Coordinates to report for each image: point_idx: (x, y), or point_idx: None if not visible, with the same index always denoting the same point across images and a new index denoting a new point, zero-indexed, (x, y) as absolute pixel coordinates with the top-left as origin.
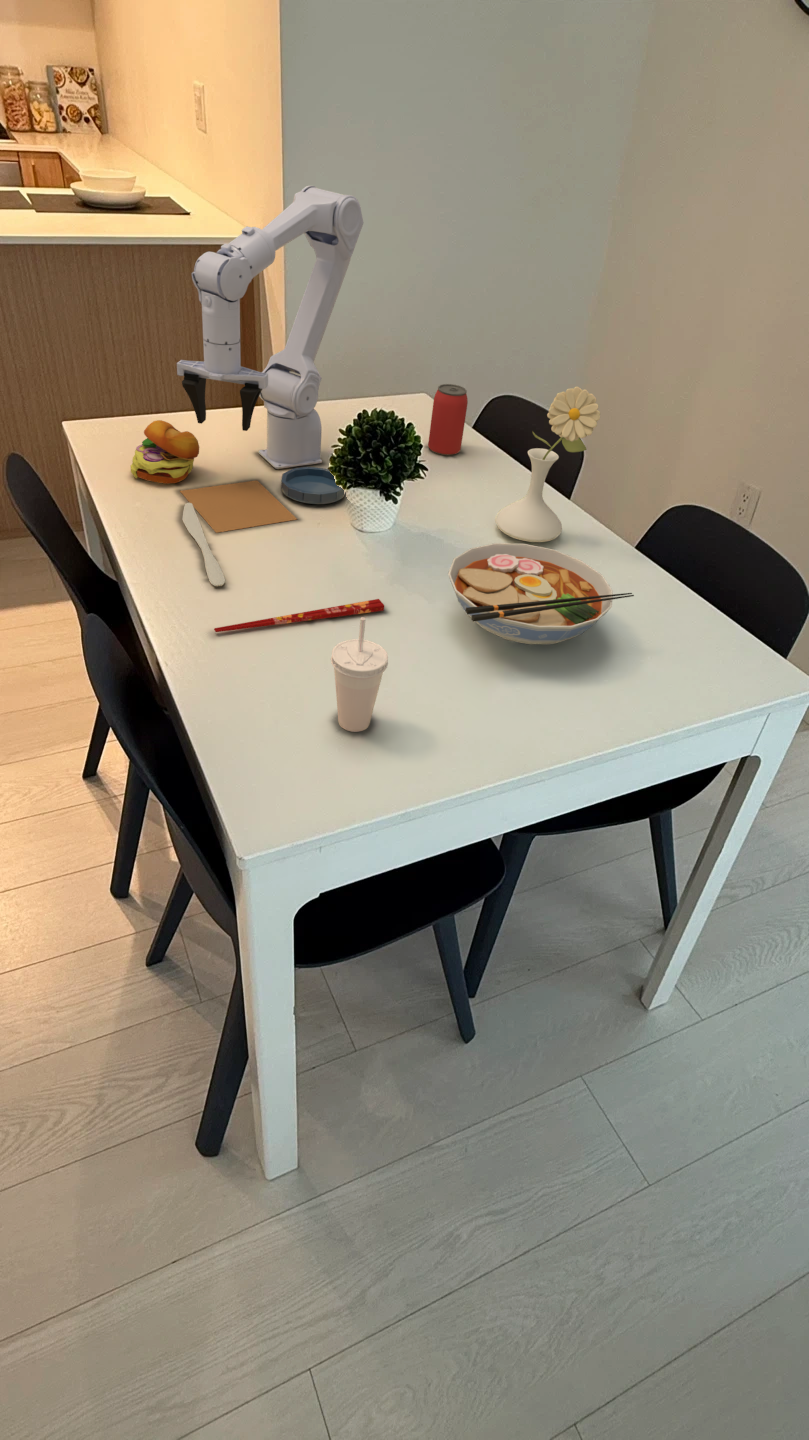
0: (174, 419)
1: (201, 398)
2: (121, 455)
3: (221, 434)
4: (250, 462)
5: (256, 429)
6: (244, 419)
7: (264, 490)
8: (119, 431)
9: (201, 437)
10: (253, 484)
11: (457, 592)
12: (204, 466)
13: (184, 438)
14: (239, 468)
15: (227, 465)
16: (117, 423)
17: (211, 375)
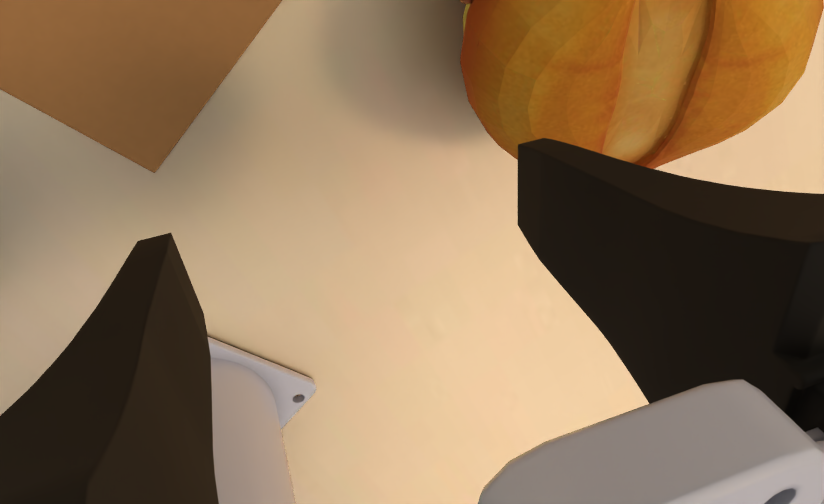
0: None
1: (631, 284)
2: None
3: (500, 403)
4: (298, 304)
5: (417, 493)
6: (132, 286)
7: (29, 86)
8: None
9: (551, 348)
10: (135, 118)
11: None
12: (446, 158)
13: (573, 30)
14: (305, 231)
15: (366, 224)
16: None
17: (767, 465)
